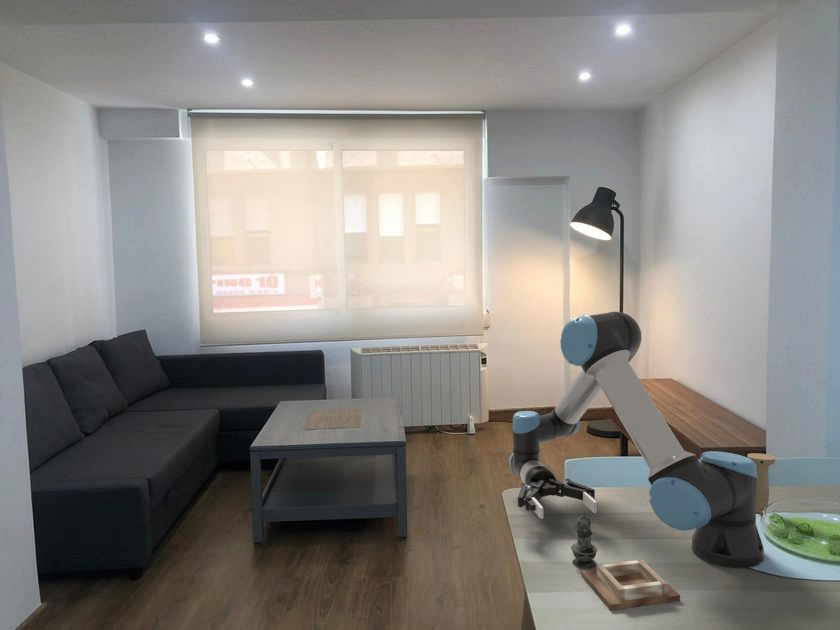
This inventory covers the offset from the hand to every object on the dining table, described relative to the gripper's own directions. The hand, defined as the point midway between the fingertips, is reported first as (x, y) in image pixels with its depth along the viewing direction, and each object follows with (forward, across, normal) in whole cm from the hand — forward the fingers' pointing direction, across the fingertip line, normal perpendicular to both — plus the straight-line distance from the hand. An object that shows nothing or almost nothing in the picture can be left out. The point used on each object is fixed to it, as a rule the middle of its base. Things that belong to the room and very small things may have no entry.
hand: (568, 510), depth 160 cm
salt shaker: (+10, 0, -9) cm, 13 cm away
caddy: (+22, -4, -8) cm, 24 cm away
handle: (-5, -55, -8) cm, 56 cm away
